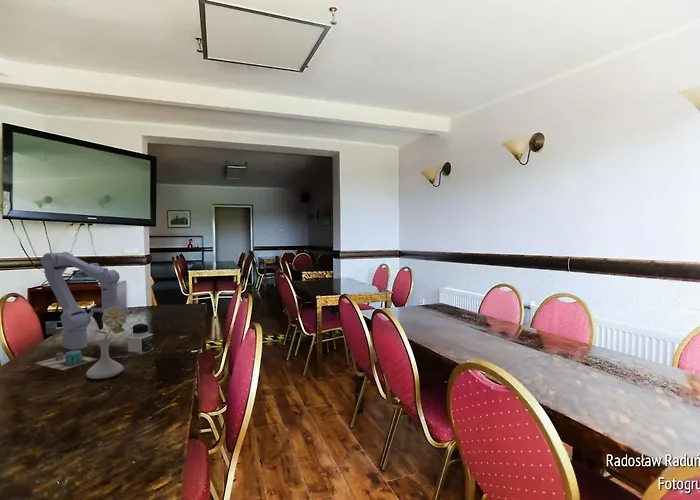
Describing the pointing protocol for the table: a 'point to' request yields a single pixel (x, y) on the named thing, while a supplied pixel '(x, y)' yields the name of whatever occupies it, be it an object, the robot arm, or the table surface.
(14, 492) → the table surface
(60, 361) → the board
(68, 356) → the cap
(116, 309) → the flower in vase
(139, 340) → the medicine bottle
